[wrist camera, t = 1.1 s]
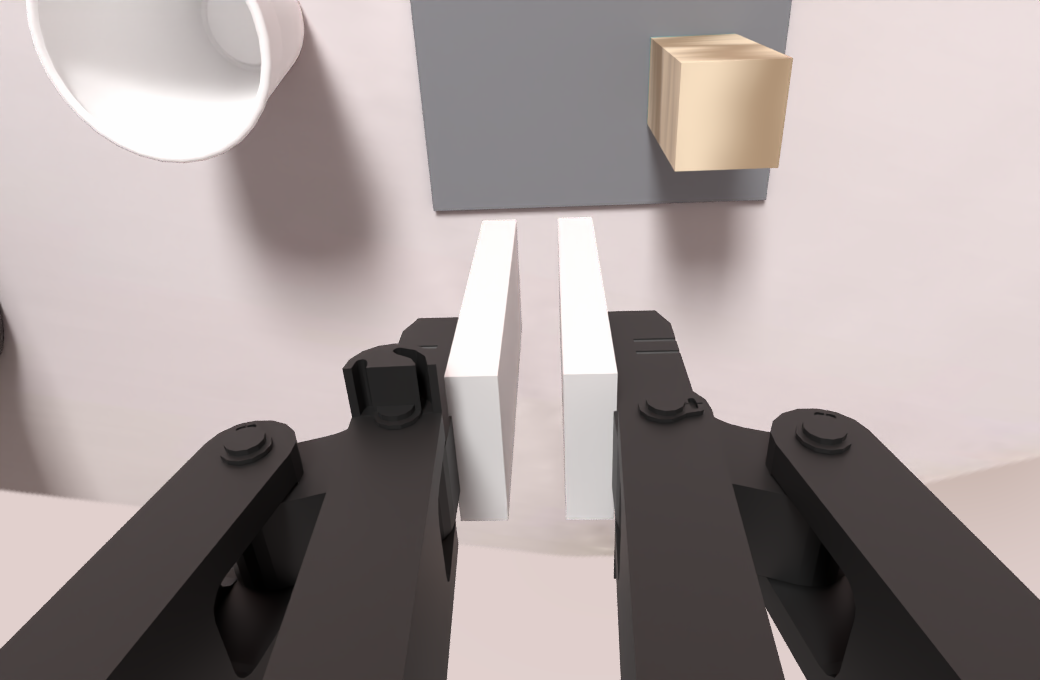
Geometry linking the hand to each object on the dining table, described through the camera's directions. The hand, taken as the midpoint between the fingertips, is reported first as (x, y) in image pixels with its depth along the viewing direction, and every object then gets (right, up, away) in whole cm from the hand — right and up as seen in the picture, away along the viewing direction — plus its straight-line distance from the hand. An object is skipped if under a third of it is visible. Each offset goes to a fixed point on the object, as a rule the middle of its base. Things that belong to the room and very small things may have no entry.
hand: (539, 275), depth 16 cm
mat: (+4, +15, +22) cm, 27 cm away
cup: (-15, +16, +22) cm, 31 cm away
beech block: (+9, +13, +22) cm, 27 cm away
